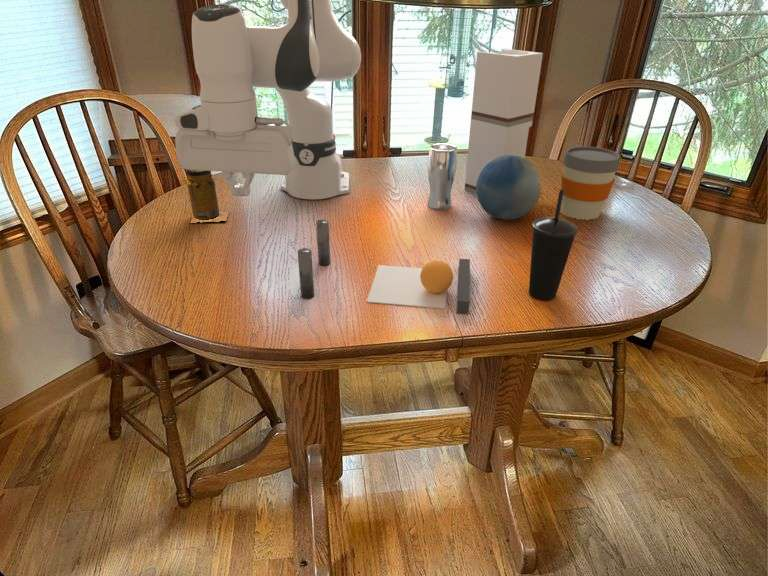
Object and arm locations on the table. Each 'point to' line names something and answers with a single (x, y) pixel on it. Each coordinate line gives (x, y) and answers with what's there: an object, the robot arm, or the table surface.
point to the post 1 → (306, 273)
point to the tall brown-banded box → (501, 108)
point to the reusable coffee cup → (587, 180)
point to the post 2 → (323, 242)
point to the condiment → (202, 194)
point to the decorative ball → (508, 187)
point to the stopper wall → (463, 286)
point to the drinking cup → (550, 253)
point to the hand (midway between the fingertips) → (241, 195)
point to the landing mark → (403, 288)
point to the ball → (436, 276)
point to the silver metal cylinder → (441, 175)
